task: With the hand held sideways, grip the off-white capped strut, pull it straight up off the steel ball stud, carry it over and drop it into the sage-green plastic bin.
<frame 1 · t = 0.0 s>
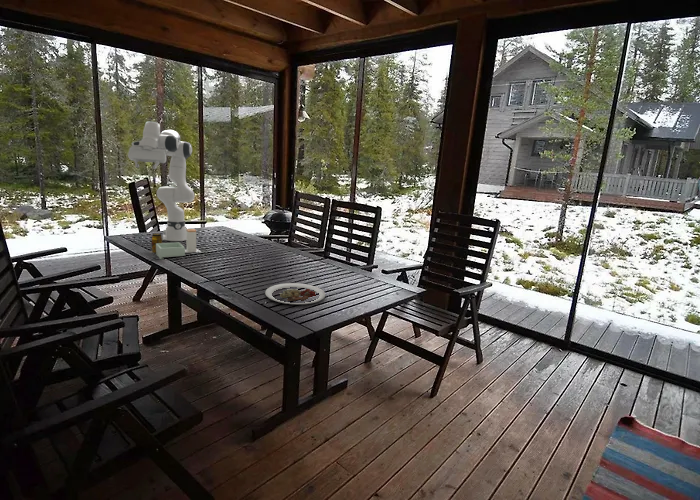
hand: (145, 167, 225), 54 cm above the table, tool tilted 30°, fingers open, 8 cm apart
bin: (170, 256, 246), on the table
condiment: (158, 252, 254), on the table
plated food: (295, 296, 196), on the table
strut: (191, 250, 258), point 1 cm above the table, touching stud base
stud base: (191, 252, 258), on the table
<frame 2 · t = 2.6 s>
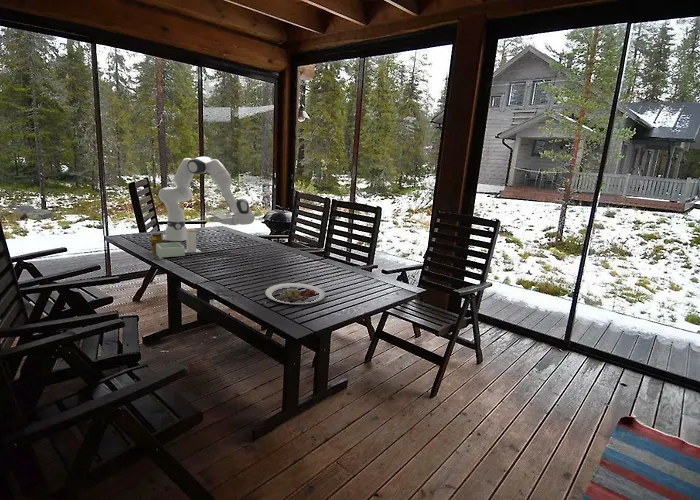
hand: (211, 219, 260), 22 cm above the table, tool horizontal, fingers open, 8 cm apart
nothing on the table moved.
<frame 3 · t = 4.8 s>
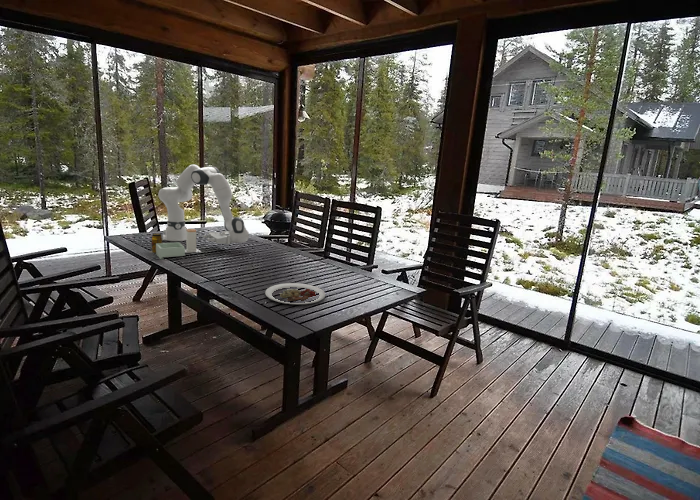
hand: (205, 238, 261), 9 cm above the table, tool horizontal, fingers open, 8 cm apart
nothing on the table moved.
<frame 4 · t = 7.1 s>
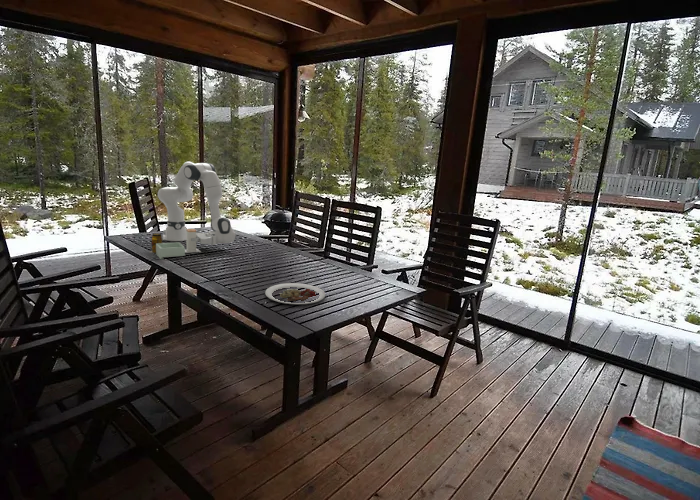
hand: (189, 238, 255), 10 cm above the table, tool horizontal, fingers closed on strut, 5 cm apart
strut: (191, 250, 258), point 2 cm above the table, touching gripper, stud base
everything else where it was.
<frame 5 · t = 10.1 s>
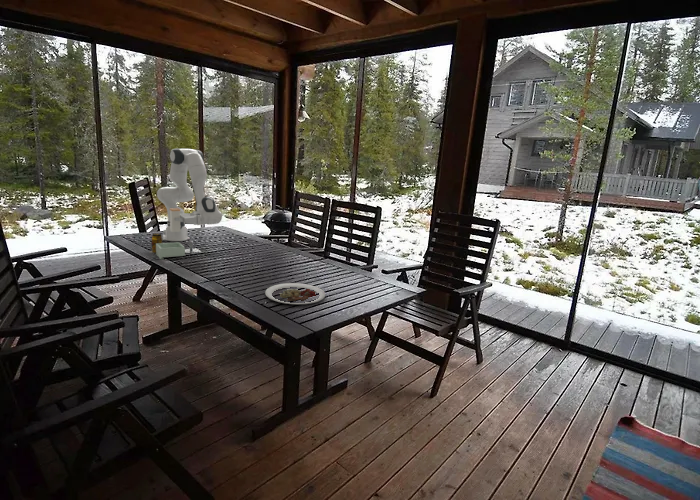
hand: (173, 218, 243), 24 cm above the table, tool horizontal, fingers closed on strut, 5 cm apart
strut: (175, 230, 245), point 16 cm above the table, touching gripper
everything else where it was.
when the fingers open (12 cm above the table, at t = 13.1 s): strut drops 3 cm, resting on bin.
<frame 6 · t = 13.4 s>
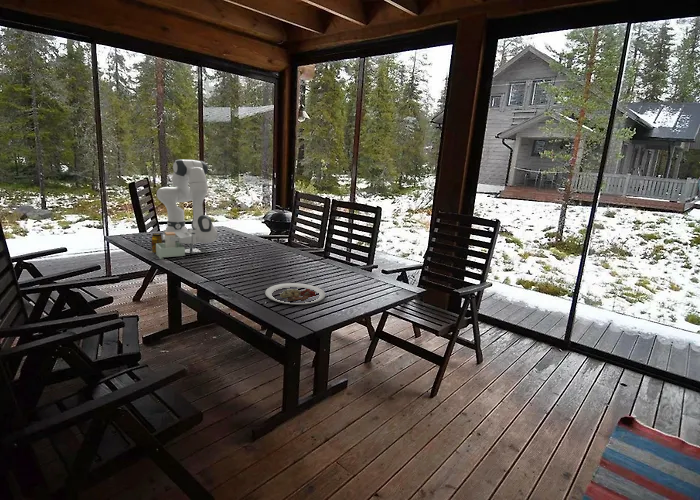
hand: (168, 237, 243), 12 cm above the table, tool horizontal, fingers open, 8 cm apart
strut: (170, 254, 246), point 1 cm above the table, touching bin
everything else where it was.
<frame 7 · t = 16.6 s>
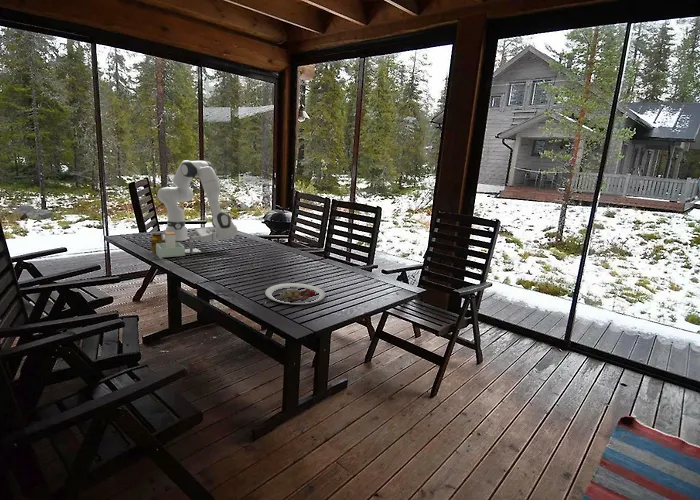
hand: (190, 236, 252), 12 cm above the table, tool horizontal, fingers open, 8 cm apart
nothing on the table moved.
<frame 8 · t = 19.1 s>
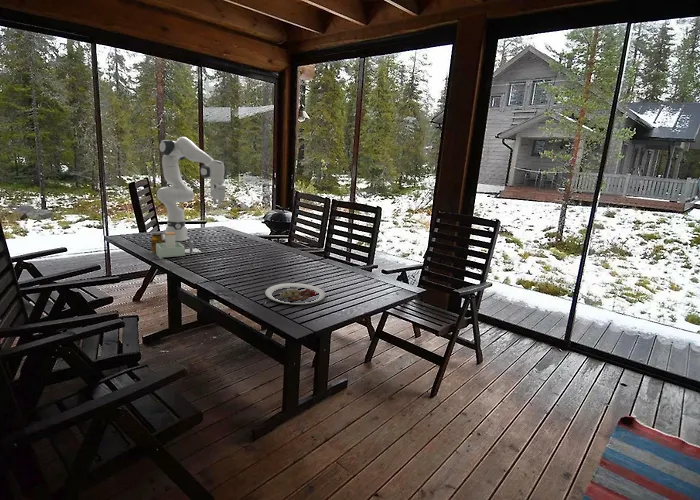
hand: (217, 205, 265), 31 cm above the table, tool pointing down, fingers open, 8 cm apart
nothing on the table moved.
at the end: strut inside the target area on the bin (0.1 cm from its centre), point 1.0 cm above the bin's base; the gripper is holding nothing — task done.
